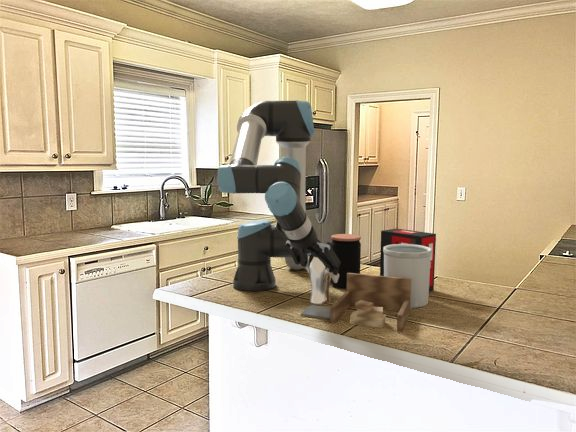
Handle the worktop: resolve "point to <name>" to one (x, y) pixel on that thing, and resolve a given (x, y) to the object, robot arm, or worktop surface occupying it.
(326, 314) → the coaster
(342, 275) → the coffee jar
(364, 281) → the open wooden frame
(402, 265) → the utensil holder
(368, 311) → the offcut stack
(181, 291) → the worktop surface
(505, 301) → the worktop surface
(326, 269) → the beer glass
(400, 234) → the cleaning product box
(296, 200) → the robot arm
